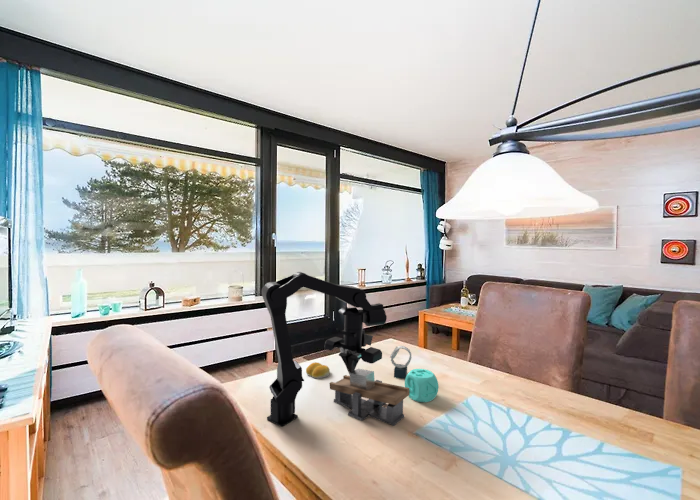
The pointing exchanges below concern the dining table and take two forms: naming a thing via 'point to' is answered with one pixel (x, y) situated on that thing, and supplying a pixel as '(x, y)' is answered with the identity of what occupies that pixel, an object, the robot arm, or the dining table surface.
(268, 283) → the robot arm
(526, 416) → the dining table surface
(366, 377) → the rider
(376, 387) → the beam
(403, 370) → the watch
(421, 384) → the decorative dice
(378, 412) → the stand
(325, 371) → the bread roll
